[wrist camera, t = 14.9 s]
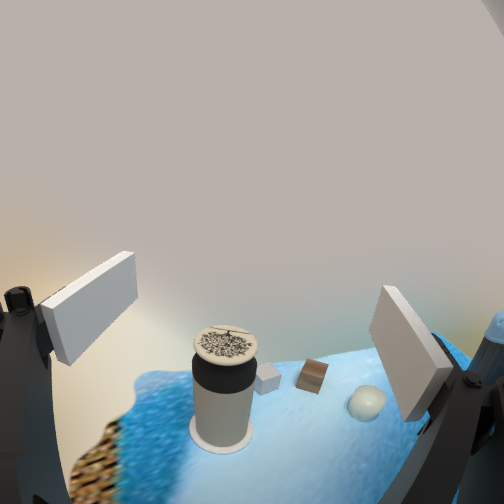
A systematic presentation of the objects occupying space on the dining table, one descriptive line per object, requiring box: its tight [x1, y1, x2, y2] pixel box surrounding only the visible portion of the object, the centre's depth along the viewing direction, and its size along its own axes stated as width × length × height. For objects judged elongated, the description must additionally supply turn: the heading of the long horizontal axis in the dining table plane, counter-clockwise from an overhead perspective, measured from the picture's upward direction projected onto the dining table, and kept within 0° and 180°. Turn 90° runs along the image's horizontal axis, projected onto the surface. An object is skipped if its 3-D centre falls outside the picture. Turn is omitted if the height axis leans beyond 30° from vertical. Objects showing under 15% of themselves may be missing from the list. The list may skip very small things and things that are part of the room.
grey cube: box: [254, 362, 281, 395], centre depth 47 cm, size 4×4×4 cm
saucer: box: [189, 415, 253, 454], centre depth 36 cm, size 10×10×1 cm
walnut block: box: [296, 359, 329, 394], centre depth 48 cm, size 4×4×4 cm
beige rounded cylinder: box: [348, 385, 386, 422], centre depth 41 cm, size 6×6×4 cm
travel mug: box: [192, 325, 258, 447], centre depth 33 cm, size 8×8×18 cm
